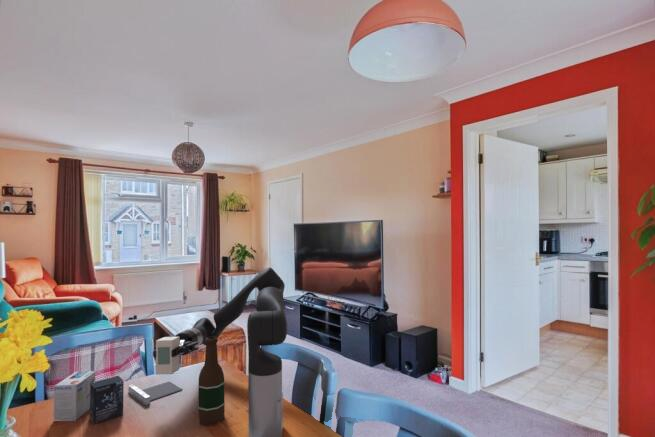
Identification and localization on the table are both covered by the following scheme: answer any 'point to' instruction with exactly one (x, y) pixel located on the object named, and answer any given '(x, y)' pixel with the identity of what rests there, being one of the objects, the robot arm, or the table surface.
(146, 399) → the rail
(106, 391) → the box
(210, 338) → the beer bottle
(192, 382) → the table surface
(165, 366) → the carton
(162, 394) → the shelf mat
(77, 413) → the light bulb box
